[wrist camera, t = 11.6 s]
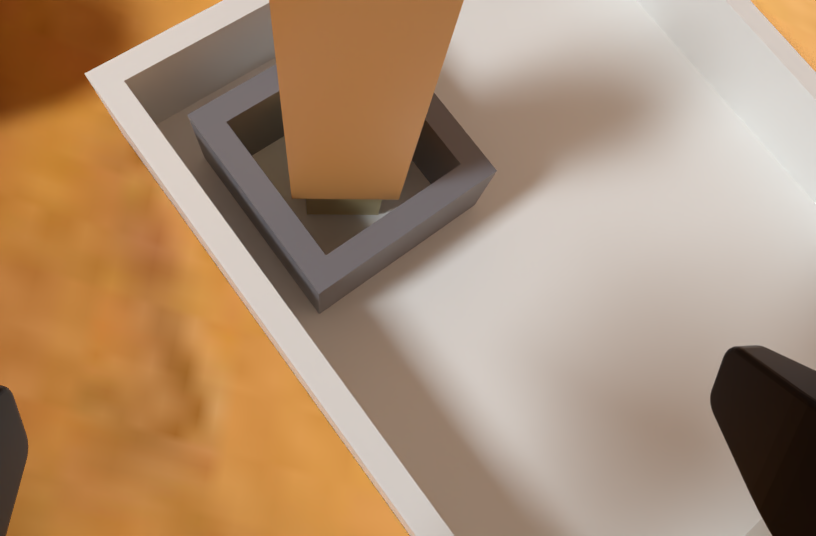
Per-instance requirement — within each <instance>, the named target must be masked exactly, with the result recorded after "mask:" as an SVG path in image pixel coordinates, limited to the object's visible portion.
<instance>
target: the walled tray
mask: <svg viewBox="0 0 816 536" xmlns="http://www.w3.org/2000/svg"><path fill="white" fill-rule="evenodd" d="M84 74H85V76H86V77H87V79H88V80H89V82H90V83H91V85H92V87H93V88H94V90H95V91H96V93H97V94H98V96H99V98H100V99H101V101H102V102H103V104H104V105H105V107H106V109H107V110H108V112H109V113H110V115H111V116H112V118H113V119H114V121H115V123H116V124H117V126H118V127H119V129H120V130H121V132H122V134H123V135H124V137H125V138H126V139H127V141H128V142H129V144H130V145H131V146H132V148H133V149H134V151H135V152H136V153H137V155H138V156H139V158H140V159H141V160H142V162H143V163H144V165H145V166H146V167H147V169H148V170H149V172H150V173H151V174H152V176H153V177H154V178H155V180H156V181H157V183H158V184H159V185H160V187H161V188H162V190H163V191H164V192H165V194H166V195H167V197H168V198H169V199H170V201H171V202H172V204H173V205H174V206H175V208H176V209H177V211H178V212H179V213H180V215H181V216H182V218H183V219H184V220H185V222H186V223H187V225H188V226H189V227H190V229H191V230H192V232H193V233H194V234H195V236H196V237H197V239H198V240H199V241H200V243H201V244H202V246H203V247H204V248H205V250H206V251H207V253H208V254H209V255H210V257H211V258H212V260H213V261H214V262H215V264H216V265H217V266H218V268H219V269H220V271H221V272H222V273H223V275H224V276H225V278H226V279H227V280H228V282H229V283H230V285H231V286H232V287H233V289H234V290H235V292H236V293H237V294H238V296H239V297H240V299H241V300H242V301H243V303H244V304H245V306H246V307H247V308H248V310H249V311H250V313H251V314H252V315H253V317H254V318H255V320H256V321H257V322H258V324H259V325H260V327H261V328H262V329H263V331H264V332H265V334H266V335H267V336H268V338H269V339H270V341H271V342H272V343H273V345H274V346H275V348H276V349H277V350H278V352H279V353H280V354H281V356H282V357H283V359H284V360H285V361H286V363H287V364H288V366H289V367H290V368H291V370H292V371H293V373H294V374H295V375H296V377H297V378H298V380H299V381H300V382H301V384H302V385H303V387H304V388H305V389H306V391H307V392H308V394H309V395H310V396H311V398H312V399H313V401H314V402H315V403H316V405H317V406H318V408H319V409H320V410H321V412H322V413H323V415H324V416H325V417H326V419H327V420H328V422H329V423H330V424H331V426H332V427H333V429H334V430H335V431H336V433H337V434H338V436H339V437H340V438H341V440H342V441H343V442H344V444H345V445H346V447H347V448H348V449H349V451H350V452H351V454H352V455H353V456H354V458H355V459H356V461H357V462H358V463H359V465H360V466H361V468H362V469H363V470H364V472H365V473H366V475H367V476H368V477H369V479H370V480H371V482H372V483H373V484H374V486H375V487H376V489H377V490H378V491H379V493H380V494H381V496H382V497H383V498H384V500H385V501H386V503H387V504H388V505H389V507H390V508H391V510H392V511H393V512H394V514H395V515H396V517H397V518H398V519H399V521H400V522H401V524H402V525H403V526H404V528H405V529H406V530H407V532H408V533H409V535H410V536H772V535H771V533H770V532H769V530H768V528H767V526H766V524H765V523H764V521H763V519H762V517H761V515H760V513H759V512H758V510H757V507H756V505H755V503H754V501H753V499H752V497H751V495H750V493H749V491H748V489H747V487H746V484H745V482H744V480H743V478H742V476H741V473H740V471H739V469H738V467H737V465H736V463H735V460H734V458H733V456H732V454H731V452H730V449H729V447H728V445H727V443H726V441H725V438H724V436H723V434H722V432H721V430H720V428H719V425H718V423H717V421H716V419H715V417H714V414H713V412H712V409H711V405H710V394H711V390H712V387H713V384H714V382H715V379H716V376H717V373H718V370H719V368H720V365H721V362H722V359H723V356H724V354H725V352H726V351H727V350H728V349H729V348H731V347H734V346H747V345H760V346H764V347H766V348H768V349H771V350H773V351H775V352H777V353H779V354H781V355H783V356H786V357H788V358H790V359H792V360H794V361H796V362H798V363H801V364H803V365H805V366H807V367H809V368H811V369H813V370H816V72H815V71H814V70H813V69H812V68H811V67H810V65H809V64H808V63H807V62H806V61H805V60H804V59H803V58H802V57H801V56H800V55H799V53H798V52H797V51H796V50H795V49H794V48H793V47H792V46H791V45H790V44H789V42H788V41H787V40H786V39H785V38H784V37H783V36H782V35H781V34H780V33H779V32H778V30H777V29H776V28H775V27H774V26H773V25H772V24H771V23H770V22H769V21H768V19H767V18H766V17H765V16H764V15H763V14H762V13H761V12H760V11H759V10H758V9H757V7H756V6H755V5H754V4H753V3H752V2H751V1H750V0H464V1H463V4H462V8H461V11H460V14H459V17H458V20H457V23H456V26H455V29H454V32H453V35H452V38H451V41H450V44H449V47H448V50H447V54H446V57H445V60H444V63H443V66H442V69H441V72H440V75H439V78H438V81H437V84H436V87H435V90H434V93H433V96H432V99H431V103H430V106H429V109H428V112H427V115H426V118H425V121H424V124H423V127H422V130H421V133H420V136H419V139H418V142H417V145H416V148H415V152H414V155H413V158H412V161H411V164H410V167H409V170H408V173H407V176H406V179H405V182H404V185H403V188H402V191H401V194H400V198H399V200H382V202H381V206H380V210H379V213H378V215H330V214H307V207H306V199H292V197H291V188H290V180H289V171H288V162H287V153H286V145H285V136H284V127H283V119H282V110H281V101H280V92H279V84H278V75H277V66H276V57H275V49H274V40H273V31H272V23H271V14H270V5H269V0H223V1H221V2H219V3H217V4H215V5H214V6H212V7H210V8H208V9H206V10H204V11H202V12H200V13H198V14H196V15H195V16H193V17H191V18H189V19H187V20H185V21H183V22H181V23H179V24H177V25H176V26H174V27H172V28H170V29H168V30H166V31H164V32H162V33H160V34H158V35H157V36H155V37H153V38H151V39H149V40H147V41H145V42H143V43H141V44H139V45H138V46H136V47H134V48H132V49H130V50H128V51H126V52H124V53H122V54H120V55H119V56H117V57H115V58H113V59H111V60H109V61H107V62H105V63H103V64H101V65H100V66H98V67H96V68H94V69H92V70H90V71H88V72H86V73H84Z"/></svg>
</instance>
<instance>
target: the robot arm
mask: <svg viewBox="0 0 816 536" xmlns="http://www.w3.org/2000/svg"><path fill="white" fill-rule="evenodd" d="M710 405H711V409H712V412H713V414H714V417H715V419H716V421H717V423H718V425H719V428H720V430H721V432H722V434H723V436H724V438H725V441H726V443H727V445H728V447H729V449H730V452H731V454H732V456H733V458H734V460H735V463H736V465H737V467H738V469H739V471H740V473H741V476H742V478H743V480H744V482H745V484H746V487H747V489H748V491H749V493H750V495H751V497H752V499H753V501H754V503H755V505H756V507H757V510H758V512H759V513H760V515H761V517H762V519H763V521H764V523H765V524H766V526H767V528H768V530H769V532H770V533H771V535H772V536H816V370H813V369H811V368H809V367H807V366H805V365H803V364H801V363H798V362H796V361H794V360H792V359H790V358H788V357H786V356H783V355H781V354H779V353H777V352H775V351H773V350H771V349H768V348H766V347H764V346H760V345H747V346H734V347H731V348H729V349H728V350H727V351H726V352H725V354H724V356H723V359H722V362H721V365H720V368H719V370H718V373H717V376H716V379H715V382H714V384H713V387H712V390H711V394H710ZM27 455H28V439H27V435H26V432H25V429H24V426H23V423H22V420H21V417H20V414H19V411H18V408H17V405H16V402H15V399H14V396H13V394H12V392H11V391H10V390H9V388H7V387H5V386H2V385H0V536H6V534H7V530H8V526H9V522H10V519H11V515H12V511H13V508H14V504H15V500H16V497H17V493H18V489H19V486H20V482H21V478H22V475H23V471H24V467H25V464H26V460H27Z"/></svg>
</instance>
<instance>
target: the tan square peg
mask: <svg viewBox="0 0 816 536" xmlns="http://www.w3.org/2000/svg"><path fill="white" fill-rule="evenodd" d="M463 1H464V0H269V5H270V14H271V23H272V31H273V40H274V49H275V57H276V66H277V75H278V84H279V92H280V101H281V110H282V119H283V127H284V136H285V145H286V153H287V162H288V171H289V180H290V188H291V197H292V199H306V207H307V214H330V215H378V213H379V210H380V206H381V202H382V200H399V198H400V194H401V191H402V188H403V185H404V182H405V179H406V176H407V173H408V170H409V167H410V164H411V161H412V158H413V155H414V152H415V148H416V145H417V142H418V139H419V136H420V133H421V130H422V127H423V124H424V121H425V118H426V115H427V112H428V109H429V106H430V103H431V99H432V96H433V93H434V90H435V87H436V84H437V81H438V78H439V75H440V72H441V69H442V66H443V63H444V60H445V57H446V54H447V50H448V47H449V44H450V41H451V38H452V35H453V32H454V29H455V26H456V23H457V20H458V17H459V14H460V11H461V8H462V4H463Z"/></svg>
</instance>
